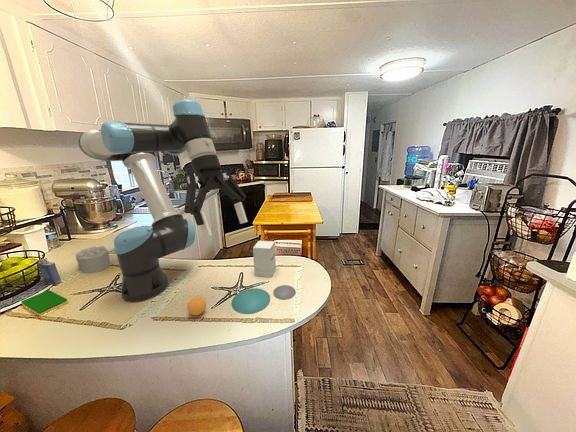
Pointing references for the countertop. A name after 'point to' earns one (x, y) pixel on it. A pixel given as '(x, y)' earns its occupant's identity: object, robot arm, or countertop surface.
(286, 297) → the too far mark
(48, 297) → the dish sponge
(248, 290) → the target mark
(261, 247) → the supplement box
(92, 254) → the lumpy-topped squat cylinder
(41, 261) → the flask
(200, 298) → the ball
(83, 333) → the countertop surface
